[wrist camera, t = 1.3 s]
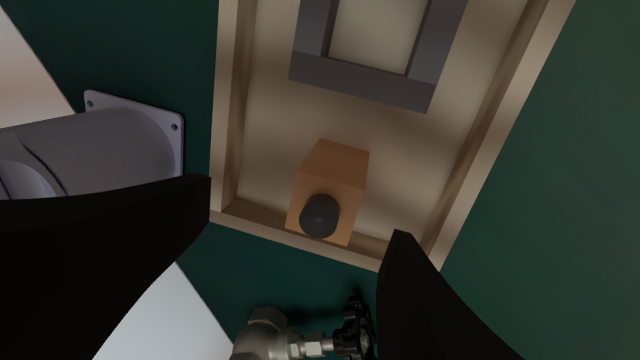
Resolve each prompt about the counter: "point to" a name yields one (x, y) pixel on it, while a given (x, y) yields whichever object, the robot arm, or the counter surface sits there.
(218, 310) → the counter surface
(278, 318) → the valve
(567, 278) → the counter surface
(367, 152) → the connector
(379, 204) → the walled box
